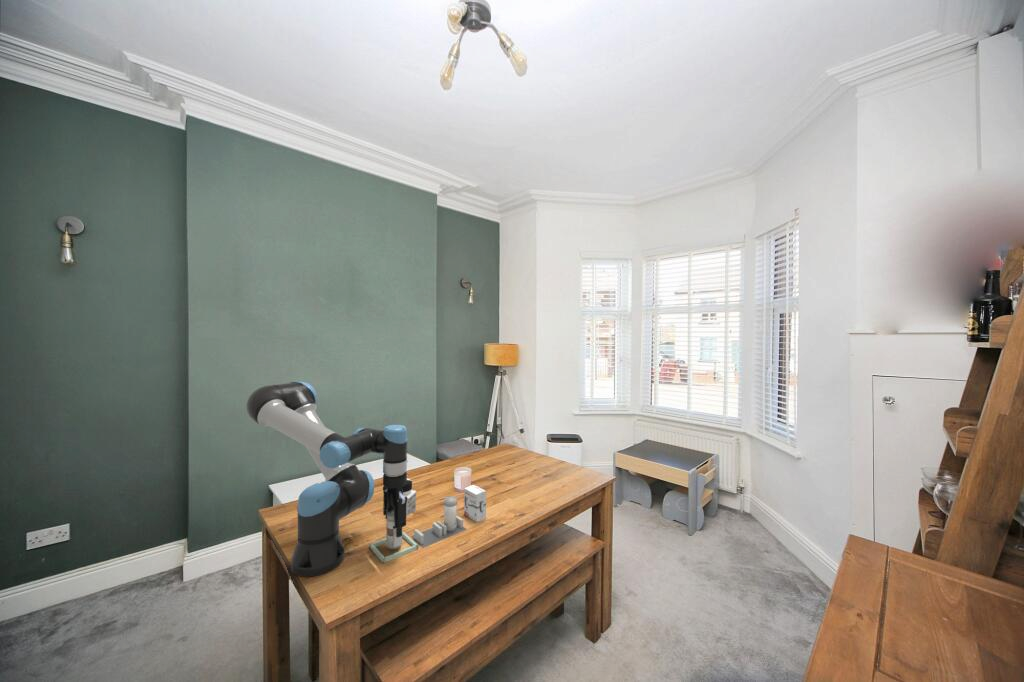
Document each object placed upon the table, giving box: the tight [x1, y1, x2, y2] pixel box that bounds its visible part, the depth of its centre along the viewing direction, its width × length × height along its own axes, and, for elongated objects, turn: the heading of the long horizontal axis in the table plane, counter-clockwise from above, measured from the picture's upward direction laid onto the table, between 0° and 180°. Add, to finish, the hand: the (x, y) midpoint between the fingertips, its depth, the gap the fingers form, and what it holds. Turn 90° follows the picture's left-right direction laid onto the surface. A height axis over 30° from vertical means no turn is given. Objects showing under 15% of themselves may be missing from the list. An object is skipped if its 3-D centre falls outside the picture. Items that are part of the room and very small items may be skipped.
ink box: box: [463, 484, 487, 523], centre depth 146 cm, size 9×5×12 cm, turn 44°
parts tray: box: [369, 531, 419, 564], centre depth 124 cm, size 12×11×2 cm
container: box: [402, 478, 417, 516], centre depth 150 cm, size 8×8×13 cm
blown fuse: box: [385, 509, 402, 550], centre depth 123 cm, size 5×5×11 cm
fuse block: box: [410, 515, 468, 548], centre depth 134 cm, size 18×9×4 cm, turn 132°
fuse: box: [443, 495, 458, 532], centre depth 136 cm, size 5×5×11 cm
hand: (394, 541), depth 124 cm, fingers closed on blown fuse, 5 cm apart
